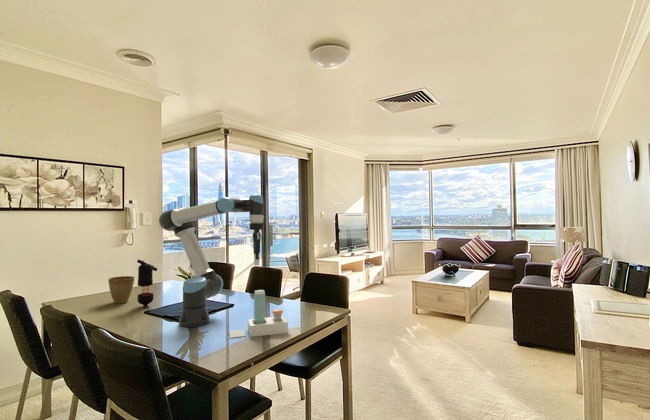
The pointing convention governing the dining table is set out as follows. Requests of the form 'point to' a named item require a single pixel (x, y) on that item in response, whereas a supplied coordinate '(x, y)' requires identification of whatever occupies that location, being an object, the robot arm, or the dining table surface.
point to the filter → (145, 282)
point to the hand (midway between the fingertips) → (256, 265)
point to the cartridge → (259, 307)
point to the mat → (237, 333)
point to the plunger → (277, 314)
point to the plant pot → (121, 288)
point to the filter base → (268, 327)
